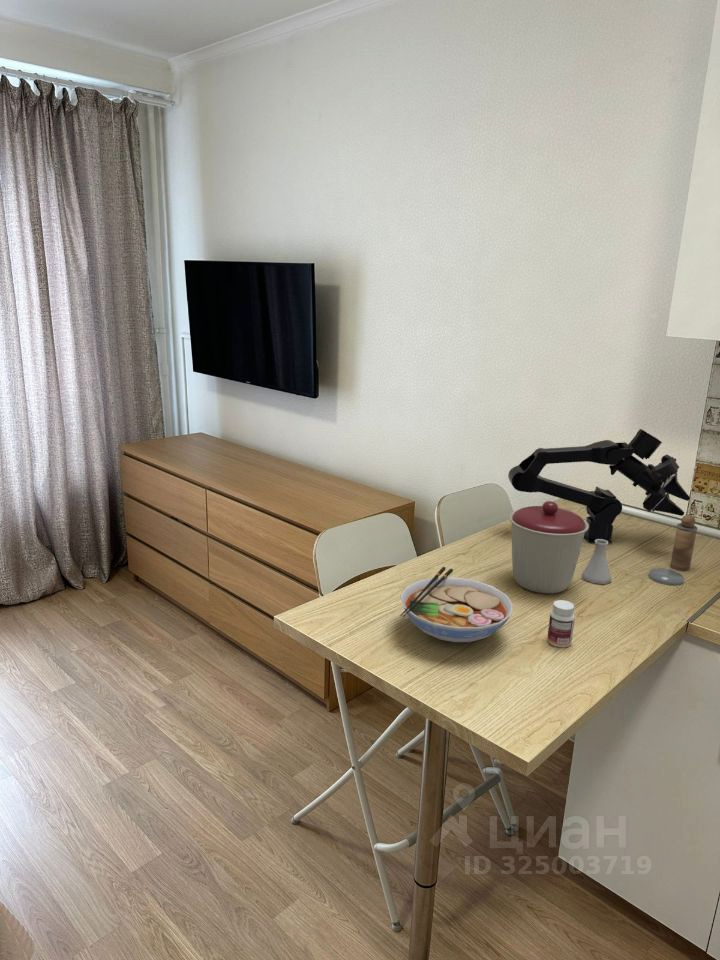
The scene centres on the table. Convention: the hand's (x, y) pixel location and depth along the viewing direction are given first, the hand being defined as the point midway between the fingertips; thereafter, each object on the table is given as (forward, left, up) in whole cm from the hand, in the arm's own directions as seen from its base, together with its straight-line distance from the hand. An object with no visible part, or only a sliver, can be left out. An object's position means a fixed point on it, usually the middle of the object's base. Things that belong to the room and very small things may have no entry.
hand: (686, 506), depth 181 cm
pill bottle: (-49, -50, -13) cm, 72 cm away
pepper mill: (-5, -11, -13) cm, 18 cm away
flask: (-30, -19, -13) cm, 38 cm away
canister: (-45, -23, -13) cm, 52 cm away
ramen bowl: (-70, -47, -13) cm, 86 cm away
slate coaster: (-12, -18, -13) cm, 25 cm away
